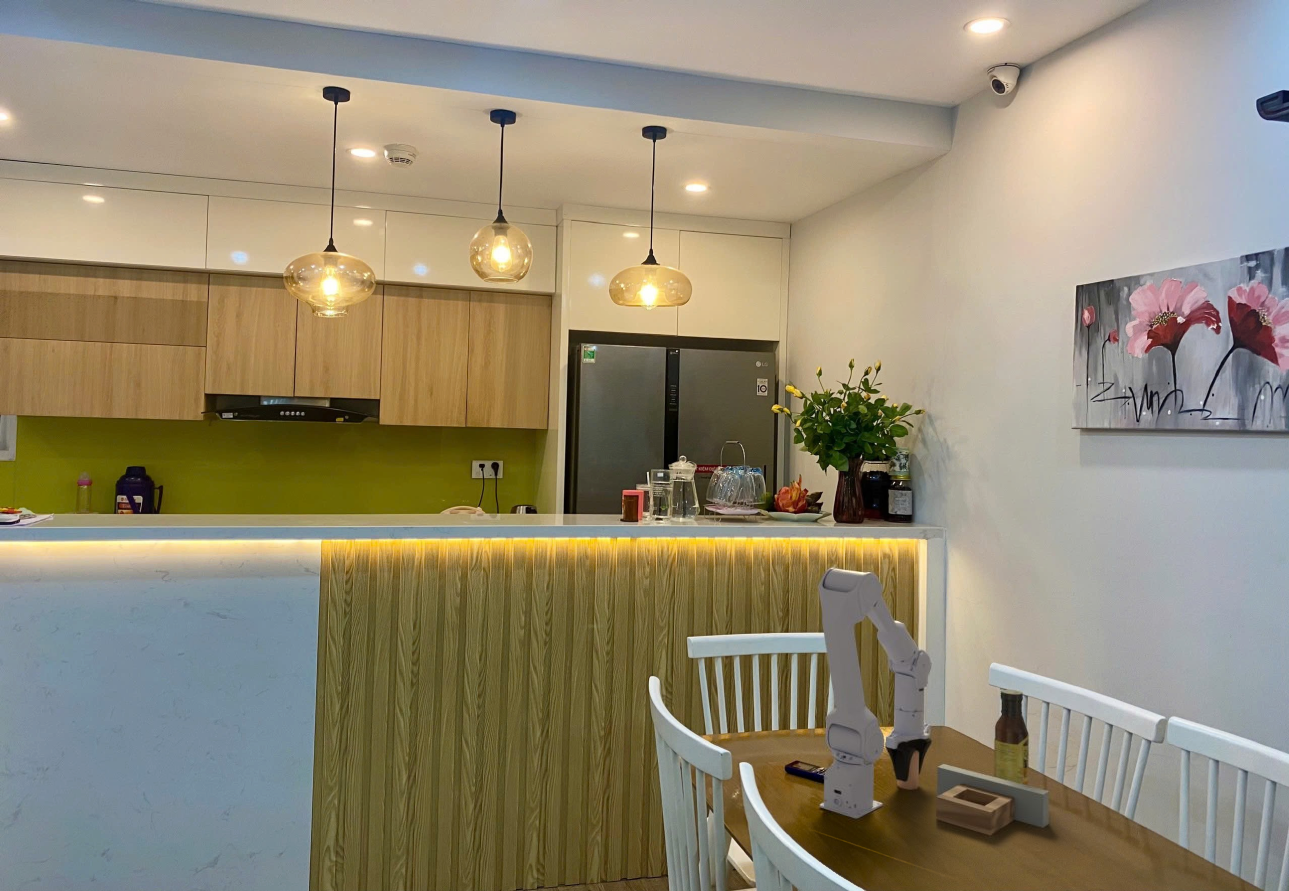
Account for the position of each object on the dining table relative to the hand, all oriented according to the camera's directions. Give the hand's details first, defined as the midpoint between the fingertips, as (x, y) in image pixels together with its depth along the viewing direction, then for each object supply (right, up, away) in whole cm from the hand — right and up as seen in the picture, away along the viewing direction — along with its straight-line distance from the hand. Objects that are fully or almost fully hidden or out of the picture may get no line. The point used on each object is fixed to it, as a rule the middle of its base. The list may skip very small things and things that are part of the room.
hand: (907, 776), depth 187 cm
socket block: (+7, -2, -17) cm, 18 cm away
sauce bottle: (+19, -3, -3) cm, 20 cm away
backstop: (+12, -2, -12) cm, 17 cm away
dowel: (0, -2, 0) cm, 2 cm away
